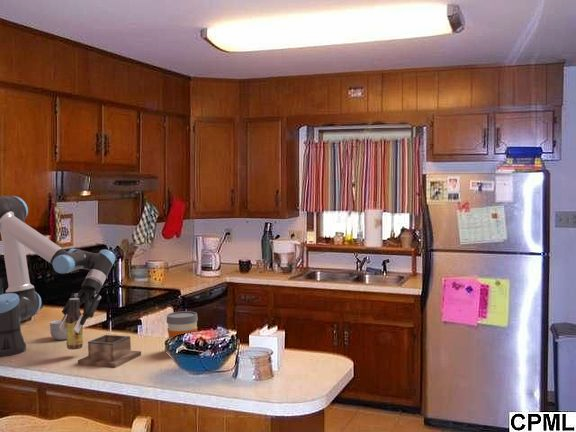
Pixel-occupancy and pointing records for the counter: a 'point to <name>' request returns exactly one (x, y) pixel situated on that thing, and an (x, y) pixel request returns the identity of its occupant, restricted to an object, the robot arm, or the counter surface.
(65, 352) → the counter surface
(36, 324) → the counter surface
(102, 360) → the box on a tray
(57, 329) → the teacup
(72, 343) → the sauce bottle
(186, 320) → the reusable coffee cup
